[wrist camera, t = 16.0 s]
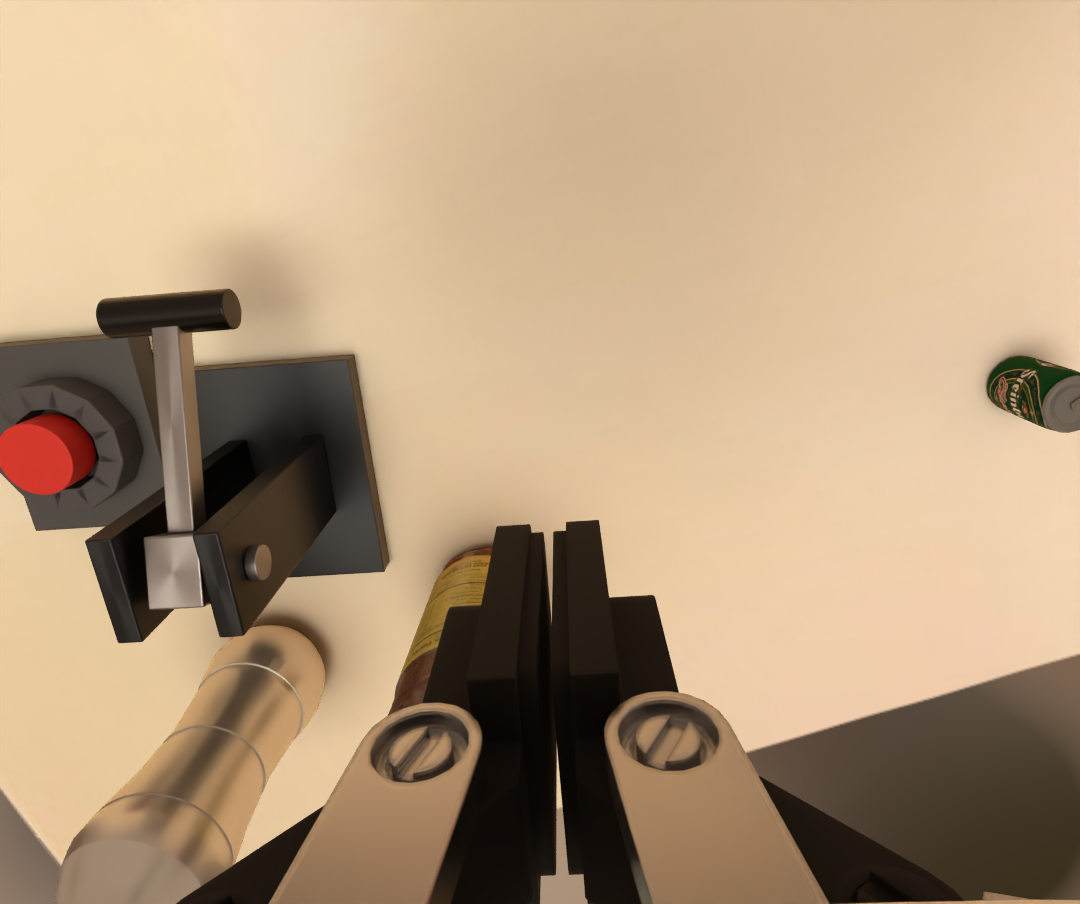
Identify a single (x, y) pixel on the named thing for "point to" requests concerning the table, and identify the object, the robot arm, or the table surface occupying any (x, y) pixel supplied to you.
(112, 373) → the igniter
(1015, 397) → the beer can
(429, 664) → the sauce bottle
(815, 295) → the table surface
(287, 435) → the bracket
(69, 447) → the button
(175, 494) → the lever
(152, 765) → the plastic bottle
